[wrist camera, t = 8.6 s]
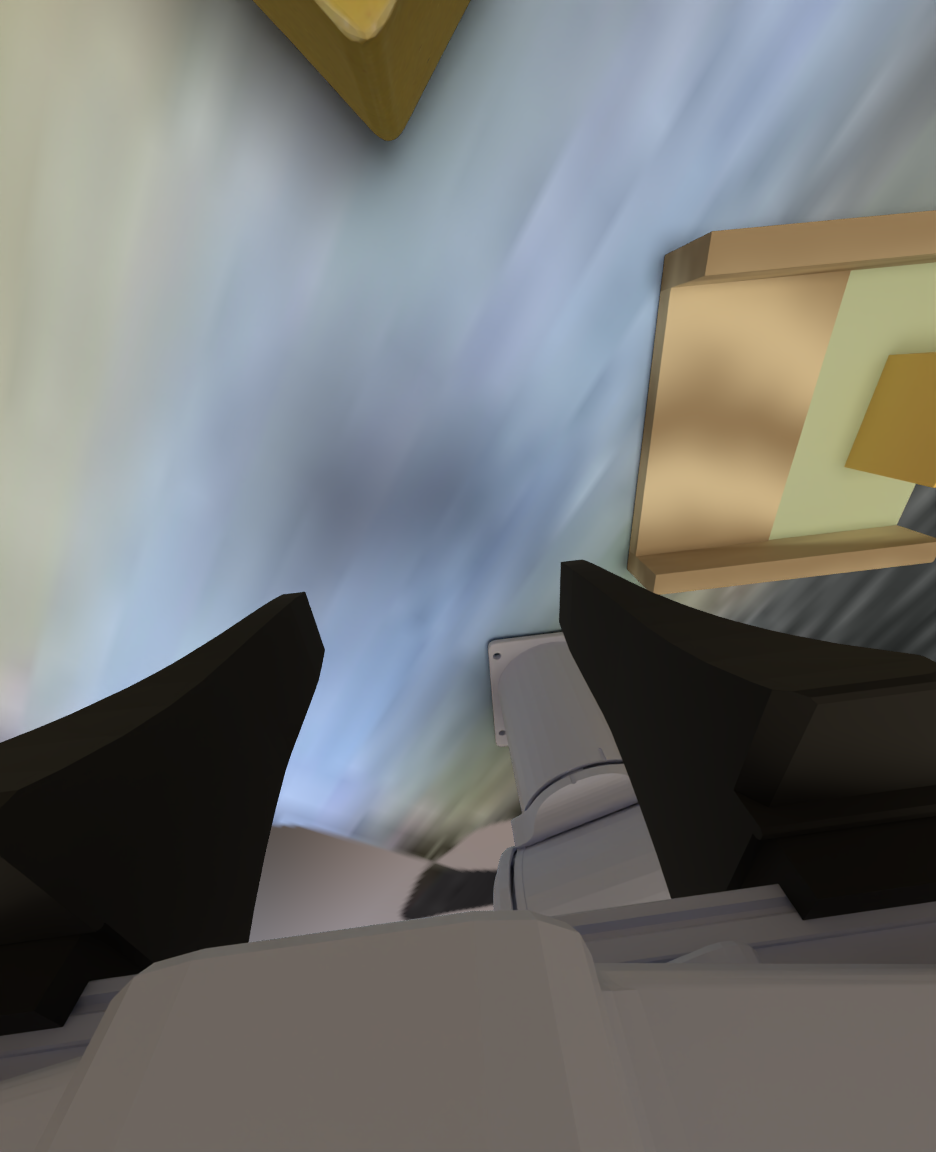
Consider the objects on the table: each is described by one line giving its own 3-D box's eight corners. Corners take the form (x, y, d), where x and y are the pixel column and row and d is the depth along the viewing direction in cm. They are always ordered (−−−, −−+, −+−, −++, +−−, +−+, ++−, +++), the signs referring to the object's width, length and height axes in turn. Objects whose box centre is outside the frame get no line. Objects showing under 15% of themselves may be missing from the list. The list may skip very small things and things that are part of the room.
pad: (883, 520, 22) (896, 525, 22) (757, 535, 22) (766, 540, 21) (1001, 257, 17) (1023, 253, 16) (833, 274, 16) (848, 270, 16)
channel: (875, 539, 23) (932, 562, 20) (627, 568, 22) (652, 595, 20) (1018, 221, 16) (1133, 191, 13) (665, 254, 16) (711, 231, 13)
